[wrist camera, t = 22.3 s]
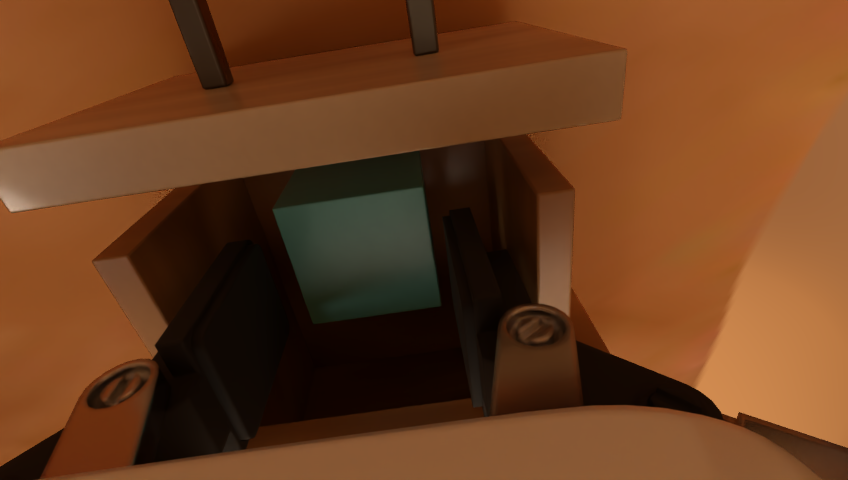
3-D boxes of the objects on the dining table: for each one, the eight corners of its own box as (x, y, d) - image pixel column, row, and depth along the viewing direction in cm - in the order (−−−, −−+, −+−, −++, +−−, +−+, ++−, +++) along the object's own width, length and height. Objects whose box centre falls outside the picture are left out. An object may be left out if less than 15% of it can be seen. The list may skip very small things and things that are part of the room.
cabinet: (246, 260, 19) (124, 471, 11) (532, 217, 18) (639, 402, 10) (329, 459, 26) (296, 676, 18) (535, 431, 26) (599, 640, 17)
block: (301, 157, 15) (271, 209, 11) (417, 139, 14) (423, 186, 11) (330, 256, 17) (312, 325, 13) (433, 241, 16) (441, 306, 13)
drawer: (99, -103, 12) (-302, -229, 5) (511, -175, 11) (670, -412, 5) (293, 365, 21) (242, 544, 14) (526, 333, 21) (587, 499, 14)
